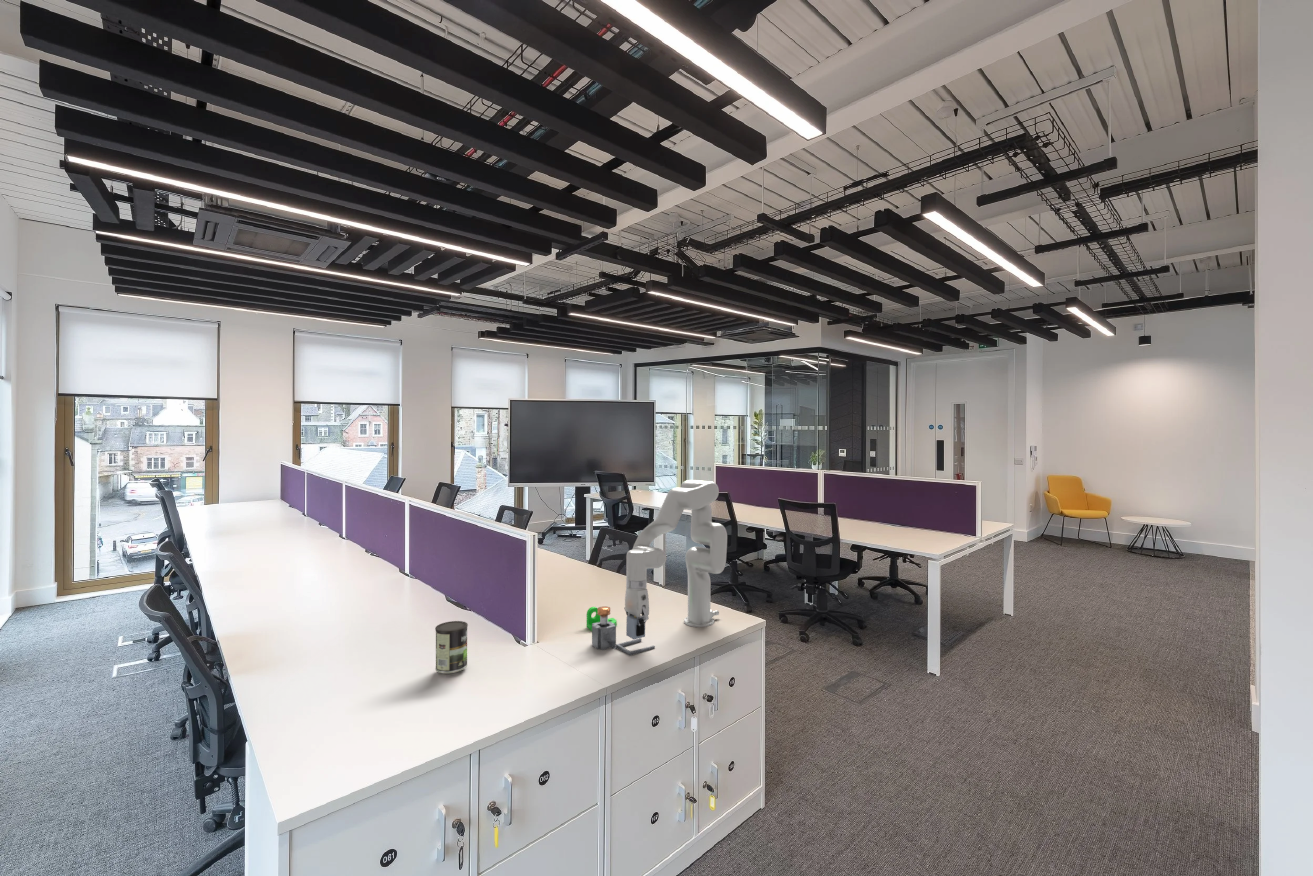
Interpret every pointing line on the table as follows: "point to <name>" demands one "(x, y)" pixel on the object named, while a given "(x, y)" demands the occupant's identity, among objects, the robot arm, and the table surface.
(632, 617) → the light blue block
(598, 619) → the mechanical part
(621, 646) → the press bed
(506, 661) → the table surface
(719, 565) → the robot arm
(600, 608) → the plunger
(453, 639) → the coffee can
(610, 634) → the copper disc holder
